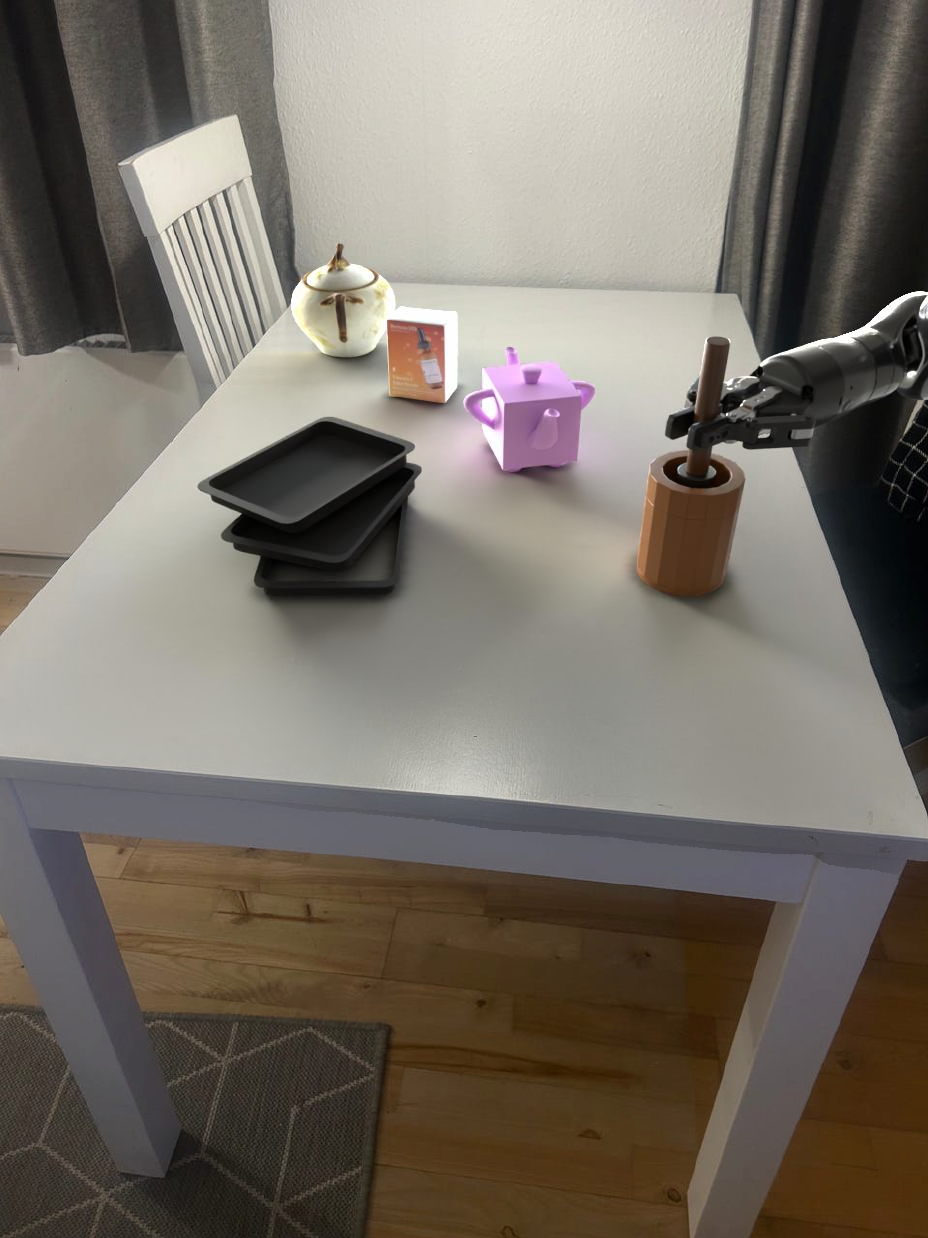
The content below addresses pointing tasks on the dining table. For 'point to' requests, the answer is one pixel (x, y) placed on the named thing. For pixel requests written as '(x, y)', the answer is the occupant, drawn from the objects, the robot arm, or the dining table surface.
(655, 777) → the dining table surface
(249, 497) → the tray
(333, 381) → the dining table surface
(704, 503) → the brown cylindrical holder
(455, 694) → the dining table surface
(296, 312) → the sugar bowl
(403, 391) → the small box
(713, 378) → the brush
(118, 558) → the dining table surface
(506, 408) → the teapot
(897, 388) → the robot arm
